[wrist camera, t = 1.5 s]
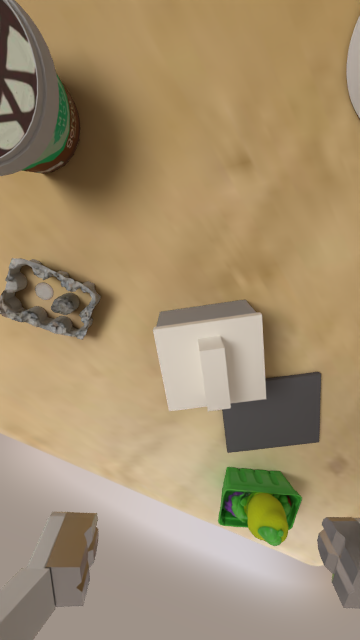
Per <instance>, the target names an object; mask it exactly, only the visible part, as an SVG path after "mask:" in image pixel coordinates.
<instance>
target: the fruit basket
mask: <svg viewBox="0 0 360 640" xmlns="http://www.w3.org/2000/svg"><path fill="white" fill-rule="evenodd" d="M301 501H302V497H301V496H300V495H299V494H298V492H297V491H295V490H294V489H293V487H292V486H291V485H290V483H289V482H288V481H287V480H286V478H285V477H284V476H283V474H282V473H281V472H280V471H266V470H252V469H244V468H241V469H238V468H233V467H227V469H226V475H225V478H224V484H223V488H222V497H221V507H220V512H219V519H218V522H219V524H220V525H223V526H234V527H248V528H249V530H250V531H251V533H252V534H253V535H254V536H255V537H256V538H258V539H260V540H264V541H266V542H268V543H269V544H271V545H273V546H277V545H280V544H281V543H282V542H283V541H284V540H285V539H286V537H287V534H288V530H290V529H291V528H292V527H293V523H294V520H295V517H296V514H297V512H298V509H299V506H300V503H301Z"/></svg>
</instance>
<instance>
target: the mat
mask: <svg viewBox="0 0 360 640" xmlns="http://www.w3.org/2000/svg"><path fill="white" fill-rule="evenodd" d="M265 383H266V399H262V400H254V401H246V402H238V403H231V404H230V405H231V408H230V409H222V411H223V419H224V428H225V436H226V445H227V452H228V453H230V452H239V451H248V450H256V449H265V448H273V447H282V446H290V445H299V444H308V443H316V442H319V430H320V392H321V374H320V372H313V373H306V374H298V375H290V376H283V377H275V378H267V379H265Z"/></svg>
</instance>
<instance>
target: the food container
mask: <svg viewBox="0 0 360 640" xmlns="http://www.w3.org/2000/svg"><path fill="white" fill-rule="evenodd" d="M79 135H80V121H79V116H78V111H77V109H76V106H75V103H74V101H73V99H72V97H71V96H70V94H69V92H68V91H67V89H66V88H65V86H64V85H63V83H62V82H61V80H60V78H59V77H58V75H57V74H56V71H55V67H54V63H53V60H52V57H51V54H50V52H49V49H48V46H47V44H46V42H45V41H44V39H43V37H42V35H41V33H40V31H39V29H38V28H37V27H36V25H35V24H34V22H33V21H32V19H31V18H30V16H29V15H28V14H27V13H26V12H25V11H24V10H23V8H22V7H21V6H20V5H19V4H18V3H17V2H16V1H15V0H0V176H3V175H9V174H13V173H15V172H18V171H21V170H22V171H29V172H36V173H48V172H53V171H55V170H57V169H59V168H60V167H62V166H64V165H65V164H66V163H67V162H68V161H69V159H70V158H71V157H72V156H73V155H74V152H75V150H76V147H77V144H78V142H79Z"/></svg>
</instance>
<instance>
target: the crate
mask: <svg viewBox="0 0 360 640" xmlns="http://www.w3.org/2000/svg"><path fill="white" fill-rule="evenodd" d="M251 313H256V311H255V310H254V309H253V308H252V307H251V306H250V305H249V304H248V302H247V301H246V300H239V301H232V302H225V303H218V304H211V305H204V306H197V307H190V308H184V309H177V310H170V311H163V312H160V314H159V318H158V322H157V326H156V327H159V326H166V325H173V324H180V323H187V322H194V321H201V320H208V319H215V318H222V317H229V316H236V315H243V314H251Z"/></svg>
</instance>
